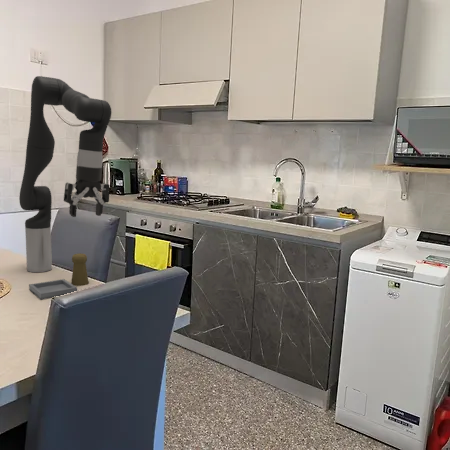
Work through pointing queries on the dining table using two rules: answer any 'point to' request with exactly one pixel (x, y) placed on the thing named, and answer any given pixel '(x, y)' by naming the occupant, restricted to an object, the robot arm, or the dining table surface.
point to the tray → (52, 288)
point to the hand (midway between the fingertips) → (85, 215)
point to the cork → (79, 270)
